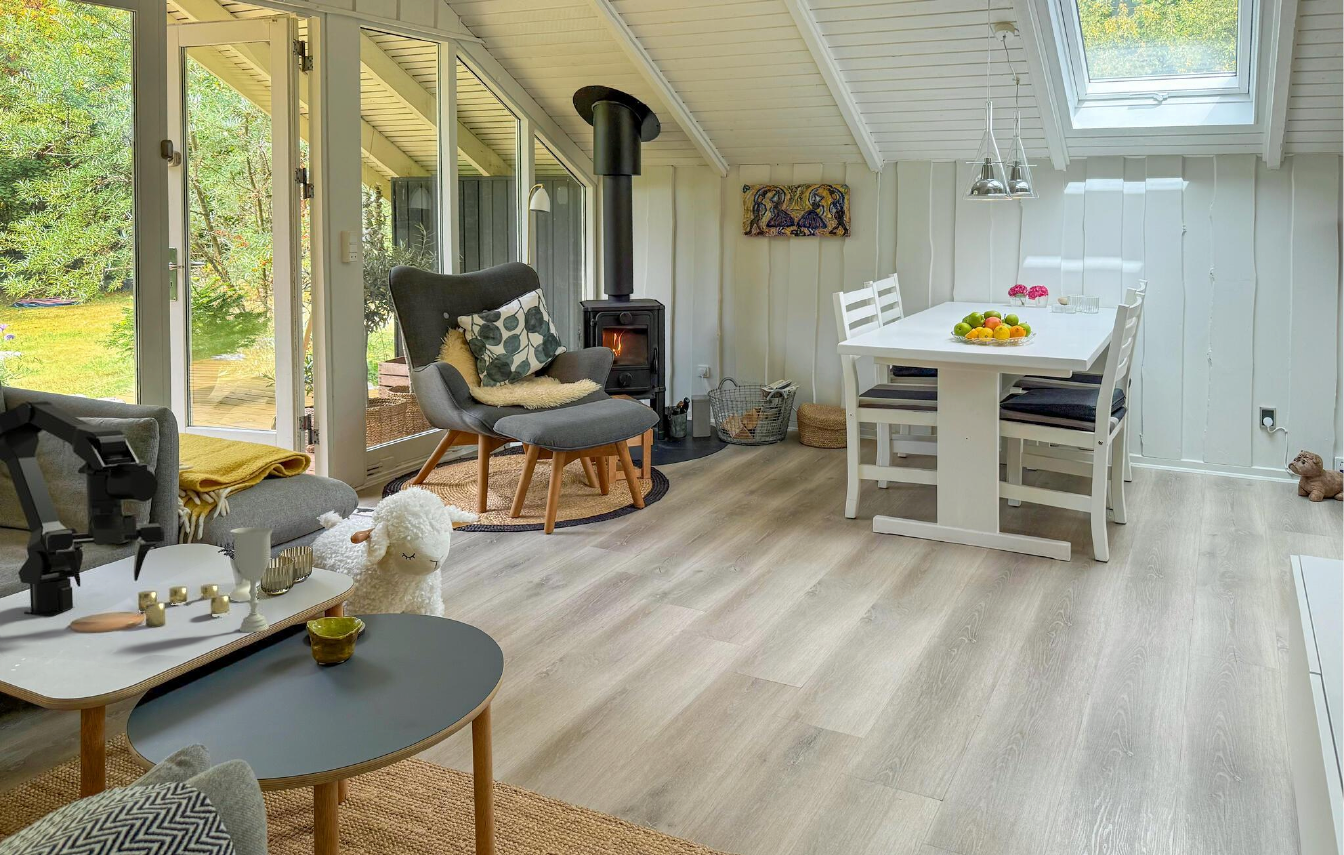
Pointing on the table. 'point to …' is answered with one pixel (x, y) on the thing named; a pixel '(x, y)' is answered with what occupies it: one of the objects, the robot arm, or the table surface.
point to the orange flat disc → (107, 622)
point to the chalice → (252, 568)
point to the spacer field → (178, 595)
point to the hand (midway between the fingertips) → (107, 583)
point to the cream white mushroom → (241, 591)
